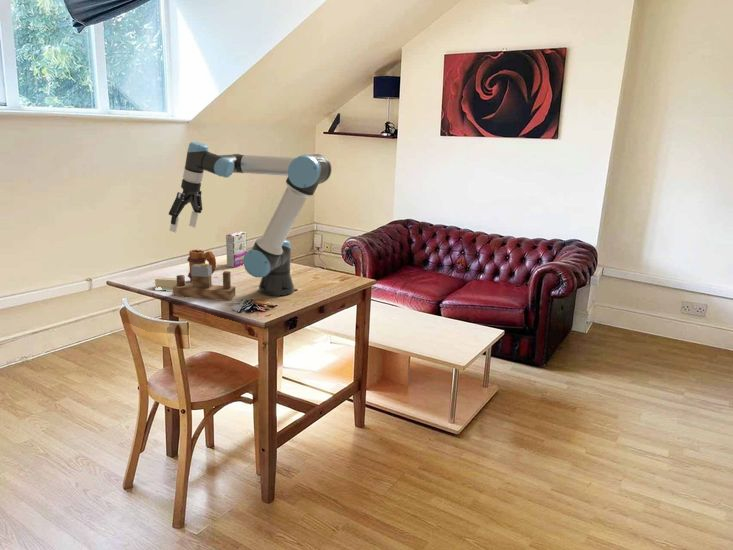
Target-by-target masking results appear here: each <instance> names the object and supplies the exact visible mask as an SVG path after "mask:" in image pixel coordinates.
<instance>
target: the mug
mask: <svg viewBox="0 0 733 550" xmlns="http://www.w3.org/2000/svg"><path fill="white" fill-rule="evenodd" d="M188 255H189V256H188V258H187V262H189V263H188V265H189V272H188V274H187V277H188V278H189V281H190V282H191V283H192V276H191V266H193V265H194V264H206V262H208V264H209V265H212V275H213V274H214V273H215V270H216V267H217V261H216V257H215V255H214V253H213V251H210V250H207V251H206V252H205V251H204V250H202V249H191V250H189V253H188Z"/></svg>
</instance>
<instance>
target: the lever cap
mask: <svg viewBox="0 0 733 550" xmlns="http://www.w3.org/2000/svg"><path fill="white" fill-rule="evenodd" d="M210 275H211V276H212V275H213V274H212V265H209V263H205V264H194V265H193V266H191V276H200V277H209V276H210Z"/></svg>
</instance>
